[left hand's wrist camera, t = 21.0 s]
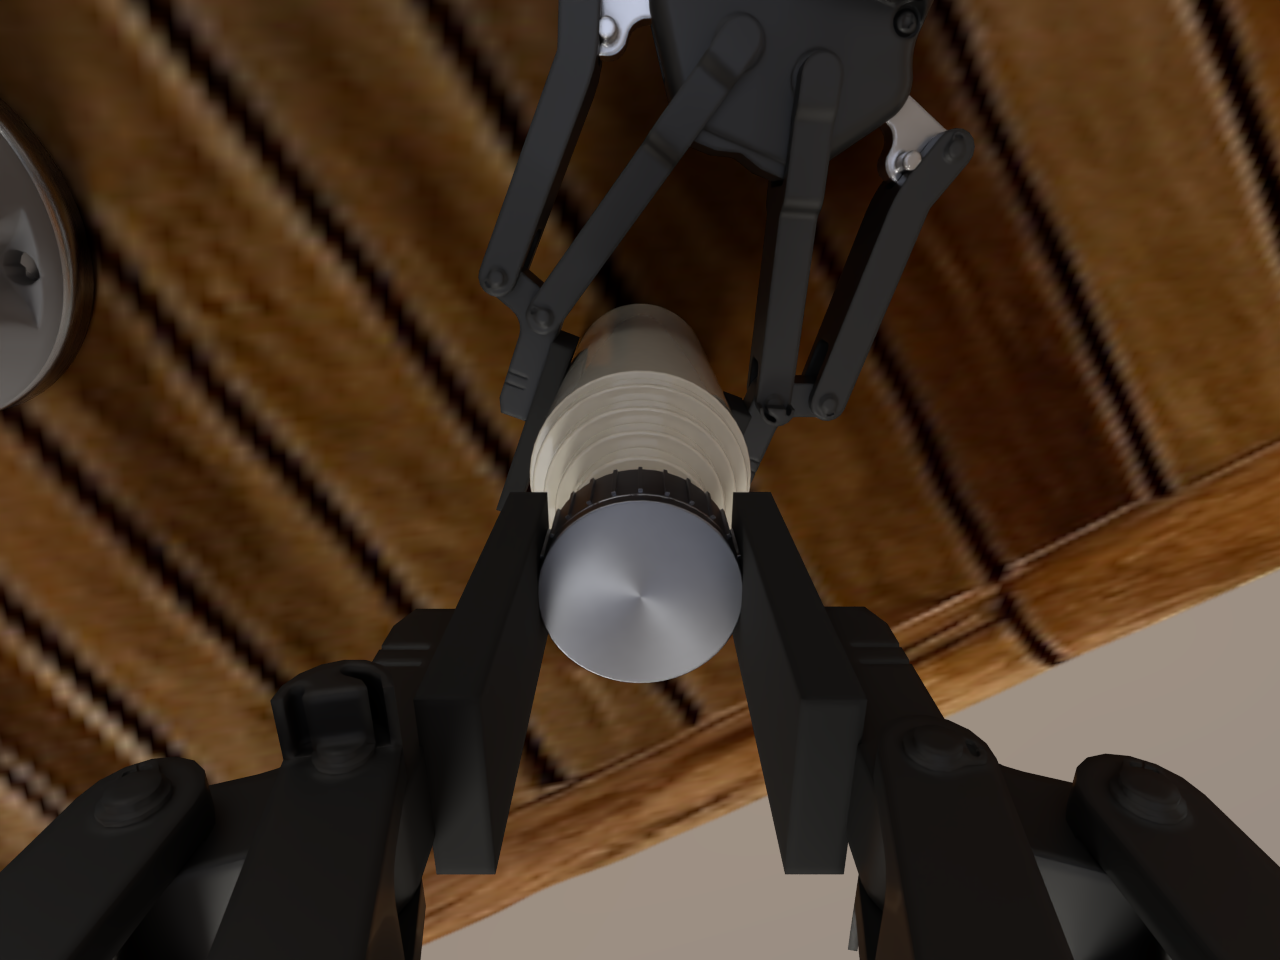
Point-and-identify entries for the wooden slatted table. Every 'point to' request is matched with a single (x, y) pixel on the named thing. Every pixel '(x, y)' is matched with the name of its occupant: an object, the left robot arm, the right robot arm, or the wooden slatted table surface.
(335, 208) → the wooden slatted table surface
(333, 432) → the wooden slatted table surface
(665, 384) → the bottle
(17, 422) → the wooden slatted table surface
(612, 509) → the cap
